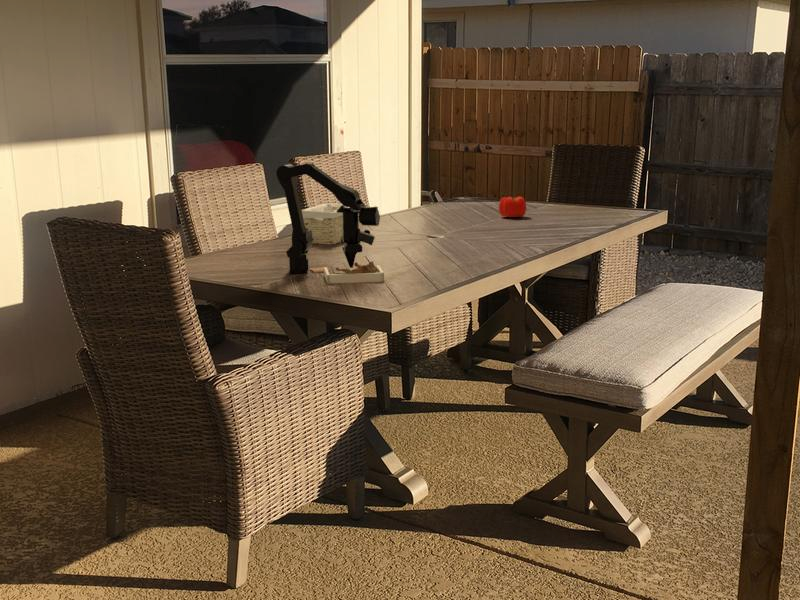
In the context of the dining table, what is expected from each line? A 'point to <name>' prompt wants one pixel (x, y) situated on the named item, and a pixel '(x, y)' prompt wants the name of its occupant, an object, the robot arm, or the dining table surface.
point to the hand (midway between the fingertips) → (351, 267)
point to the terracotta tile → (318, 269)
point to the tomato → (512, 206)
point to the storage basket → (324, 223)
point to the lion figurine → (360, 269)
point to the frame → (354, 277)
